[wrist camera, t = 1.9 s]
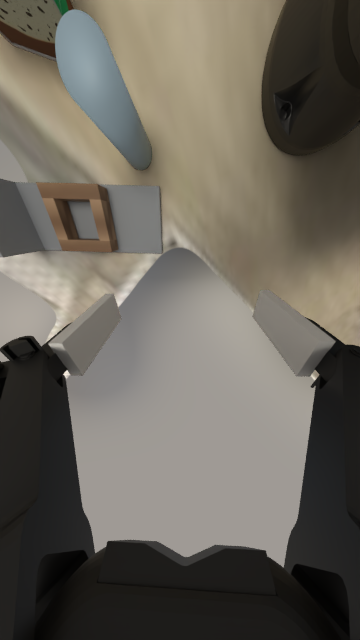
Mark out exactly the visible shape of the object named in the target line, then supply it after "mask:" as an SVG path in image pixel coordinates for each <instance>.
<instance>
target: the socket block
mask: <svg viewBox="0 0 360 640" xmlns="http://www.w3.org/2000/svg"><path fill="white" fill-rule="evenodd" d="M36 184H37V187H38V189H39V192H40V194H41V197H42V199H43V202H44V205H45V207H46V210H47V212H48V215H49V217H50V220H51V222H52V225H53V228H54V230H55V233H56V235H57V238H58V240H59V243H60V246H61V248H62V251H94V252H114V251H116V250H118V244H117V239H116V234H115V229H114V224H113V219H112V213H111V208H110V203H109V198H108V193H107V188H105V187H103V186H100V185H98V184H77V183H38V182H36ZM67 201H78V202H90V204H91V208H92V212H93V216H94V220H95V224H96V228H97V232H98V236H99V239H82V238H78V234H77V231H76V228H75V225H74V222H73V219H72V216H71V212H70V209H69V206H68V203H67Z"/></svg>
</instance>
